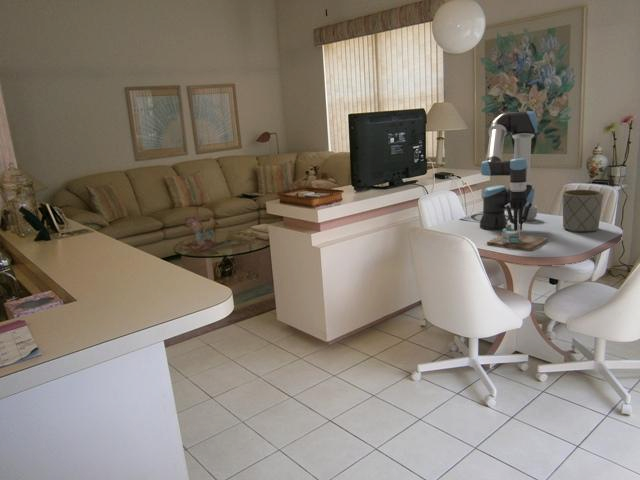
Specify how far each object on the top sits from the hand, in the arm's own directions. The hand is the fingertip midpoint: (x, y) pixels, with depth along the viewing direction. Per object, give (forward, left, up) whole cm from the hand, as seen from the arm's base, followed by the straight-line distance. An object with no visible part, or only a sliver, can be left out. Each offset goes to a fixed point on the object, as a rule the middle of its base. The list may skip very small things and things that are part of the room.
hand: (517, 236), depth 251 cm
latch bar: (-4, 0, -1) cm, 4 cm away
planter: (+16, +41, -3) cm, 45 cm away
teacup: (-17, +51, -4) cm, 54 cm away
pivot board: (0, -1, -3) cm, 3 cm away
